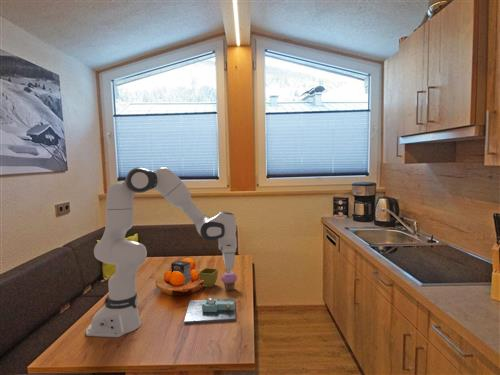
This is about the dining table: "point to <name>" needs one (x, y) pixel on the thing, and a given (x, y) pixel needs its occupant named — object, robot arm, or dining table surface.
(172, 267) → the coffee box
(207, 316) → the base plate
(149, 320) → the dining table surface
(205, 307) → the flange
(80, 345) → the dining table surface
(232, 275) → the cupcake
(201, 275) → the flower pot
